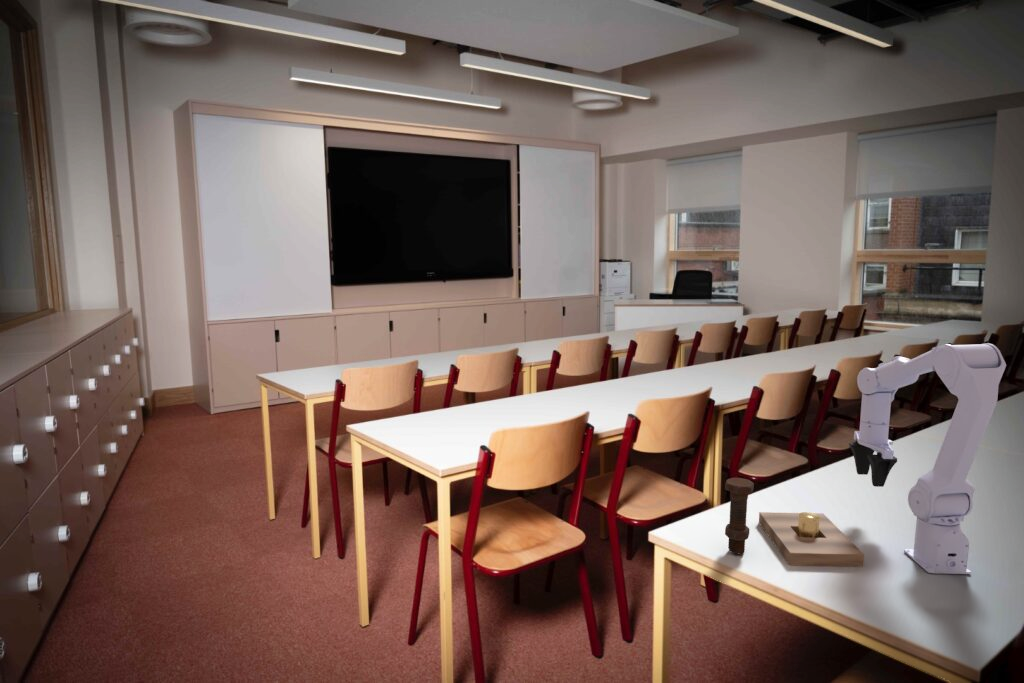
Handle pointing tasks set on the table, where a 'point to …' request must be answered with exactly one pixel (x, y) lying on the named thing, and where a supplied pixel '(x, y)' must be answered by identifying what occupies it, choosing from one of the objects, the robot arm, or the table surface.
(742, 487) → the bolt
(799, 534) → the pin
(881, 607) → the table surface
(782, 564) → the table surface
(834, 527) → the slot block
